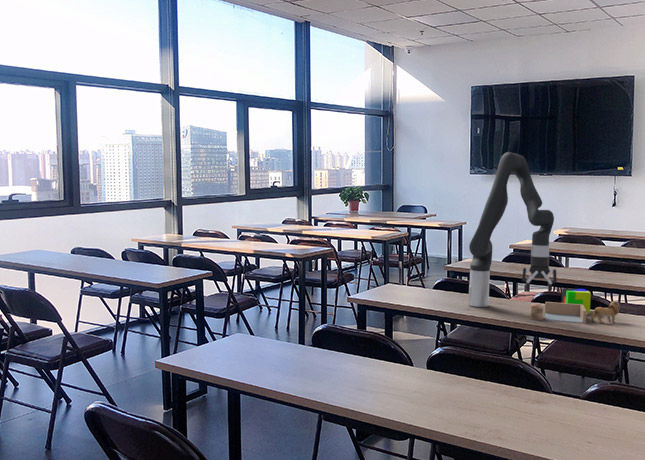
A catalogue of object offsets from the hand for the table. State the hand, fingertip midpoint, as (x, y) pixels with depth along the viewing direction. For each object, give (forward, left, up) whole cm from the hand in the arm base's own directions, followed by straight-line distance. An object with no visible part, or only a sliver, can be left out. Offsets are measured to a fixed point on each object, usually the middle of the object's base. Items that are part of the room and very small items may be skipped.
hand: (538, 291), depth 276 cm
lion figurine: (+28, +5, -12) cm, 31 cm away
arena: (+12, +5, -12) cm, 17 cm away
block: (0, 0, -12) cm, 12 cm away
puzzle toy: (+18, +24, -12) cm, 32 cm away
